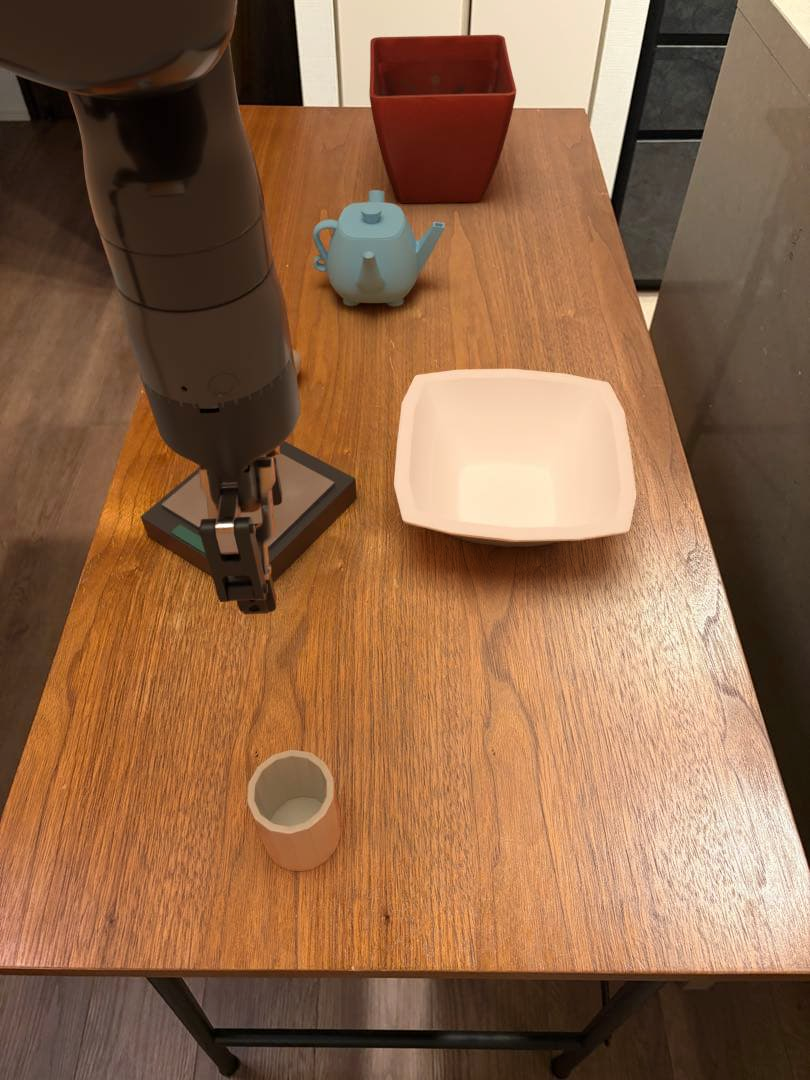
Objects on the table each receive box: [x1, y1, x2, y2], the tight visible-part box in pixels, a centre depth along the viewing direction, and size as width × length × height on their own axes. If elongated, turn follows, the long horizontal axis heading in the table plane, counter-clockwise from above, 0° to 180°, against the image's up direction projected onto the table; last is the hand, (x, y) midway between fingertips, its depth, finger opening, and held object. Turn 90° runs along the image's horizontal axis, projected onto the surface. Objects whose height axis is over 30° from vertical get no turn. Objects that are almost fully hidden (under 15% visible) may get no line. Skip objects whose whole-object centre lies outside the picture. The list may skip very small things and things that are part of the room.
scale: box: [140, 440, 358, 583], centre depth 84 cm, size 16×14×3 cm
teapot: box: [312, 189, 446, 307], centre depth 106 cm, size 15×14×11 cm
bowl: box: [393, 368, 638, 548], centre depth 83 cm, size 22×23×8 cm
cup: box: [246, 749, 342, 872], centre depth 62 cm, size 6×6×8 cm
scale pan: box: [162, 453, 335, 551], centre depth 83 cm, size 12×12×1 cm
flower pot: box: [368, 34, 517, 204], centre depth 121 cm, size 19×19×17 cm
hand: (263, 552), depth 54 cm, fingers open, 8 cm apart
